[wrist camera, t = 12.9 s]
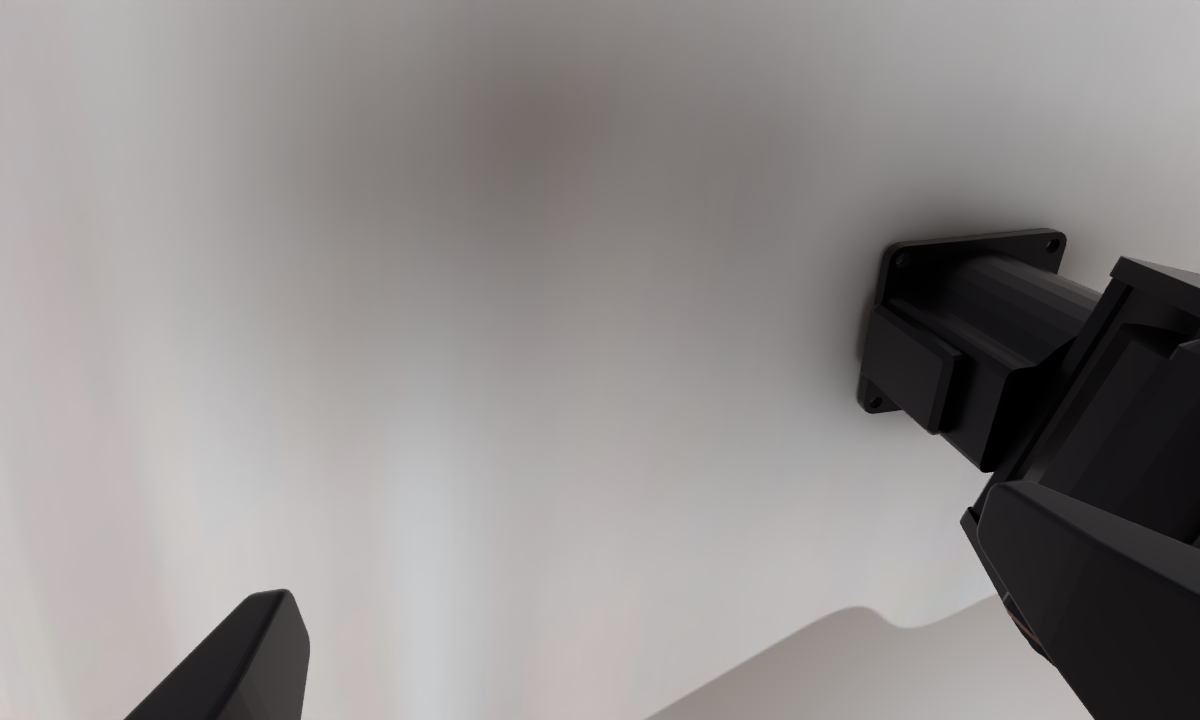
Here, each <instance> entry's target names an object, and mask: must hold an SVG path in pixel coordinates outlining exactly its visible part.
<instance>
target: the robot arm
mask: <svg viewBox="0 0 1200 720" xmlns="http://www.w3.org/2000/svg"><path fill="white" fill-rule="evenodd" d="M1050 241H1051V242H1050ZM1066 241H1067V239H1066V236H1065V234H1063V233H1062V232H1059V231H1056V230H1054V229H1038V230H1028V231H1017V232H1007V233H996V234H986V235H975V236H965V237H954V238H943V239H933V240H922V241H912V242H901V243H896V244H893V245H892V246H890V247H889V248H888V249H887V250H886V252H885V253H884V256H883V259H882V264H881V270H880V276H879V282H878V287H877V293H876V299H875V304H874V308H873V309H872V311H871V316H870V321H869V327H868V333H867V339H866V344H865V350H864V356H863V362H862V368H861V371H862V379H861V384H860V390H859V396H858V403H859V405H860V406H861V407H862V408H863V409H864V410H865V411H866V412H868V413H871V414H875V413H883V412H891V411H898V410H904V411H905V412H906V413H907V414H908V415H909V416H910V417H911V418H913V419H914V420H915V421H916V422H917V423H918V424H919V425H920V426H921V427H923V428H924V429H925V430H926V431H927V432H928V433H929V434H931V435H938V434H940V435H941V436H942V437H943V438H944V439H945V440H946V441H948V442H949V443H950V444H951V445H952V446H953V447H954V448H955V449H957V450H958V451H959V452H960V453H961V454H962V455H963V456H965V457H966V458H967V459H968V460H969V461H970V462H971V463H972V464H974V465H975V466H976V467H977V468H978V469H979V470H980V471H981V472H984V473H988V472H994V473H993V474H992V476H991V478H990V479H989V481H988V482H987V484H986V486H985V487H984V489H983V491H982V492H981V494H980V496H979V497H978V499H977V500H976V502H975V504H974V505H973V507H968V508H967V510H966V512H965V513H964V515H963V516H962V518H961V520H960V524H961V526H962V528H963V530H964V531H965V533H966V535H967V537H968V539H969V541H970V542H971V544H972V546H973V548H974V550H975V552H976V553H977V555H978V557H979V559H980V561H981V563H982V565H983V566H984V568H985V570H986V572H987V574H988V576H989V577H990V579H991V581H992V583H993V585H994V587H995V588H996V590H997V592H998V594H999V596H1000V598H1001V599H1002V601H1003V604H1004V606H1005V608H1006V610H1007V612H1008V614H1009V615H1010V616H1011V618H1012V620H1013V621H1014V623H1015V624H1016V626H1017V627H1018V629H1019V630H1020V632H1021V633H1022V635H1023V636H1024V637H1025V638H1026V639H1027V640H1028V642H1029V644H1030V645H1031V647H1032V648H1033V649H1034V650H1035V651H1036V652H1037V653H1039V654H1040V655H1042V656H1043V657H1045V658H1046V659H1047V660H1048V661H1049V662H1050V663H1052V665H1053V666H1055V667H1056V668H1057V669H1058V671H1059V672H1060V674H1061V675H1062V676H1063V678H1064V679H1065V680H1066V682H1067V683H1068V684H1069V686H1070V687H1071V688H1072V690H1073V691H1074V692H1075V694H1076V695H1077V696H1078V698H1079V699H1080V701H1081V702H1082V703H1083V705H1084V706H1085V707H1086V709H1087V710H1088V711H1089V713H1090V714H1091V715H1092V717H1093V718H1094V720H1200V274H1197V273H1193V272H1189V271H1184V270H1180V269H1176V268H1171V267H1167V266H1163V265H1159V264H1154V263H1150V262H1146V261H1142V260H1137V259H1133V258H1129V257H1124V256H1121V257H1120V258H1119V260H1118V262H1117V263H1116V265H1115V267H1114V268H1113V270H1112V272H1111V273H1110V275H1109V276H1111V277H1113V278H1112V280H1111V281H1110V283H1109V285H1108V286H1107V288H1106V290H1105V291H1104V293H1103V294H1101V293H1099V292H1097V291H1094V290H1092V289H1090V288H1087V287H1085V286H1082V285H1080V284H1078V283H1075V282H1073V281H1071V280H1068V279H1066V278H1064V277H1061V276H1059V275H1057V272H1058V269H1059V266H1060V262H1061V259H1062V256H1063V253H1064V250H1065V247H1066ZM1049 242H1050V244H1049V246H1048V247H1047V248H1046V246H1047V244H1048V243H1049ZM901 254H903V256H904V257H903V259H902V261H901V262H899V263H898V264H896V260H897V258H898V257H899V256H900V255H901ZM874 397H876V399H875V400H874V401H873V402H870V401H871V400H872V399H873V398H874ZM309 657H310V641H309V636H308V632H307V630H306V627H305V624H304V622H303V619H302V617H301V614H300V611H299V609H298V606H297V604H296V601H295V598H294V596H293V595H292V593H291V592H290V591H289V590H287V589H277V590H271V591H264V592H257V593H254V594H251V595H250V596H248V597H247V598H245V599H244V600H243V601H242V602H241V603H240V604H239V605H238V606H237V607H236V608H235V609H234V610H233V611H232V612H231V613H230V614H229V615H228V616H227V617H226V618H225V619H224V620H223V621H222V622H221V623H220V624H219V625H218V626H217V627H216V628H215V629H214V630H213V631H212V632H211V633H210V634H209V635H208V636H207V637H206V638H205V639H204V640H203V641H202V642H201V643H200V644H199V645H198V646H197V647H196V648H195V649H194V650H193V651H192V652H191V653H190V654H189V655H188V656H187V657H186V658H185V659H184V660H183V661H182V662H181V663H180V664H179V665H178V666H177V667H176V668H175V669H174V670H173V671H172V672H171V673H170V674H169V675H168V676H167V677H166V678H165V679H164V680H163V681H162V682H161V683H160V684H159V685H158V686H157V687H156V688H155V689H154V690H153V691H152V692H151V693H150V694H149V695H148V696H147V697H146V698H145V699H144V700H143V701H142V702H141V703H140V704H139V705H138V706H137V707H136V708H135V709H134V710H133V711H132V712H131V713H130V714H129V715H128V716H127V717H126V718H125V719H124V720H301V714H302V707H303V700H304V693H305V685H306V678H307V671H308V664H309Z"/></svg>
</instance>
